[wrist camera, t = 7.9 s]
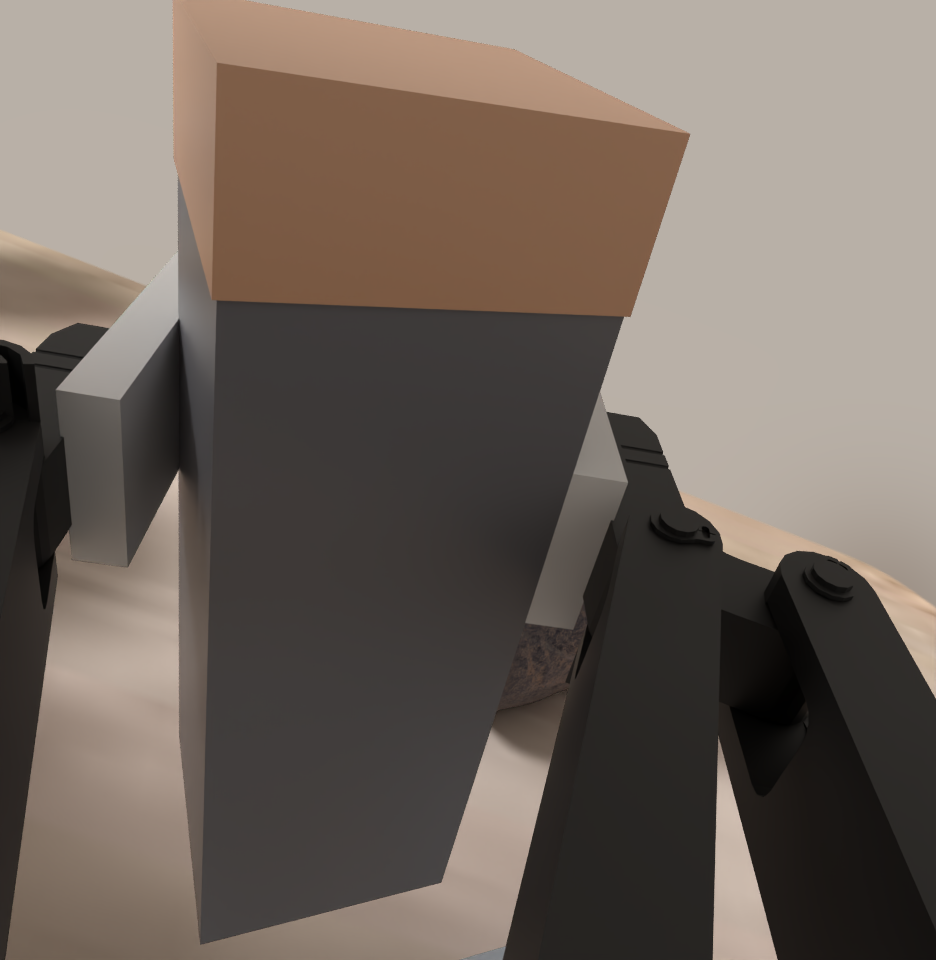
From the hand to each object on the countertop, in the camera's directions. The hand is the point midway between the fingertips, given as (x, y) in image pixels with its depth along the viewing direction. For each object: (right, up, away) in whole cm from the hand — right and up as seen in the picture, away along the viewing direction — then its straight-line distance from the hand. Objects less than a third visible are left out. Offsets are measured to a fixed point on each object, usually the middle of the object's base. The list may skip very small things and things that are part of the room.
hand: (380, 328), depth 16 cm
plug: (-2, -10, 0) cm, 10 cm away
